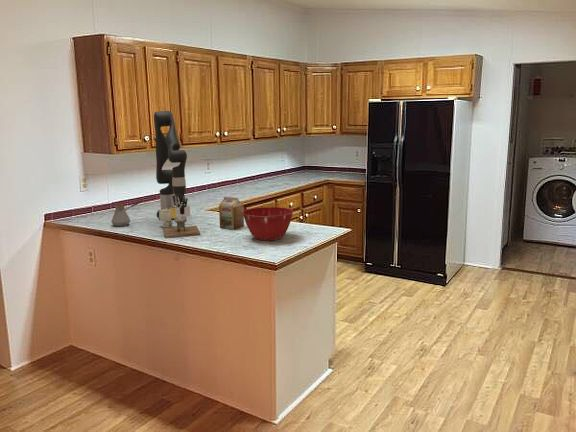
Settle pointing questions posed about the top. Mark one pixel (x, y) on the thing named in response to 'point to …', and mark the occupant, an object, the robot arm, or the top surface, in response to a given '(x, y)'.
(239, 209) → the milk carton
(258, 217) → the mixing bowl
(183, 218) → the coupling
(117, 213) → the coffee pot
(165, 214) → the pneumatic valve
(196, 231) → the board
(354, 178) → the top surface
